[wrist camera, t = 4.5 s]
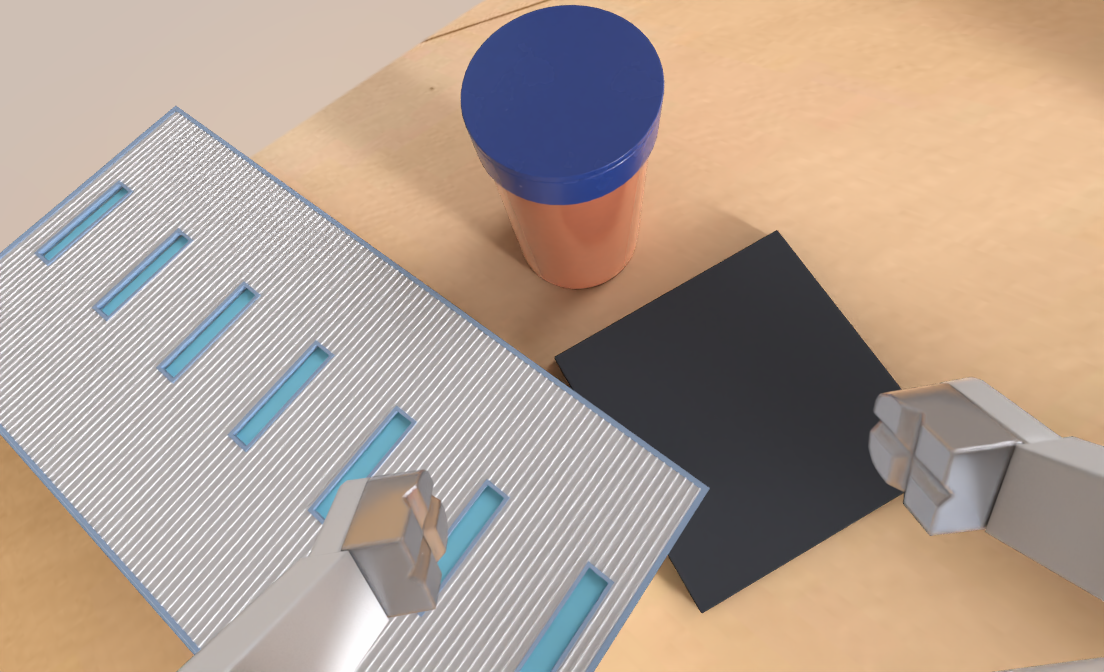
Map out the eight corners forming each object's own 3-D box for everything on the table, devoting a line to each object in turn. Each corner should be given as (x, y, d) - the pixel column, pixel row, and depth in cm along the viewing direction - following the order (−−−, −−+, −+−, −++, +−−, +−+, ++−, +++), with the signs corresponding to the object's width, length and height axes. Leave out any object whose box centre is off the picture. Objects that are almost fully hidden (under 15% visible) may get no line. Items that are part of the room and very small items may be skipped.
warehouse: (689, 481, 23) (720, 491, 16) (498, 766, 21) (432, 927, 14) (256, 169, 30) (139, 76, 23) (90, 362, 29) (-92, 330, 21)
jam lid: (599, 16, 20) (598, -28, 18) (698, 144, 18) (708, 109, 16) (443, 101, 19) (428, 65, 18) (527, 240, 18) (518, 215, 16)
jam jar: (599, 162, 28) (594, -9, 18) (660, 251, 27) (694, 117, 17) (500, 217, 28) (439, 75, 18) (555, 311, 26) (523, 212, 16)
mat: (772, 236, 26) (777, 229, 26) (946, 460, 23) (958, 460, 22) (555, 360, 26) (554, 356, 25) (698, 609, 22) (701, 614, 22)
